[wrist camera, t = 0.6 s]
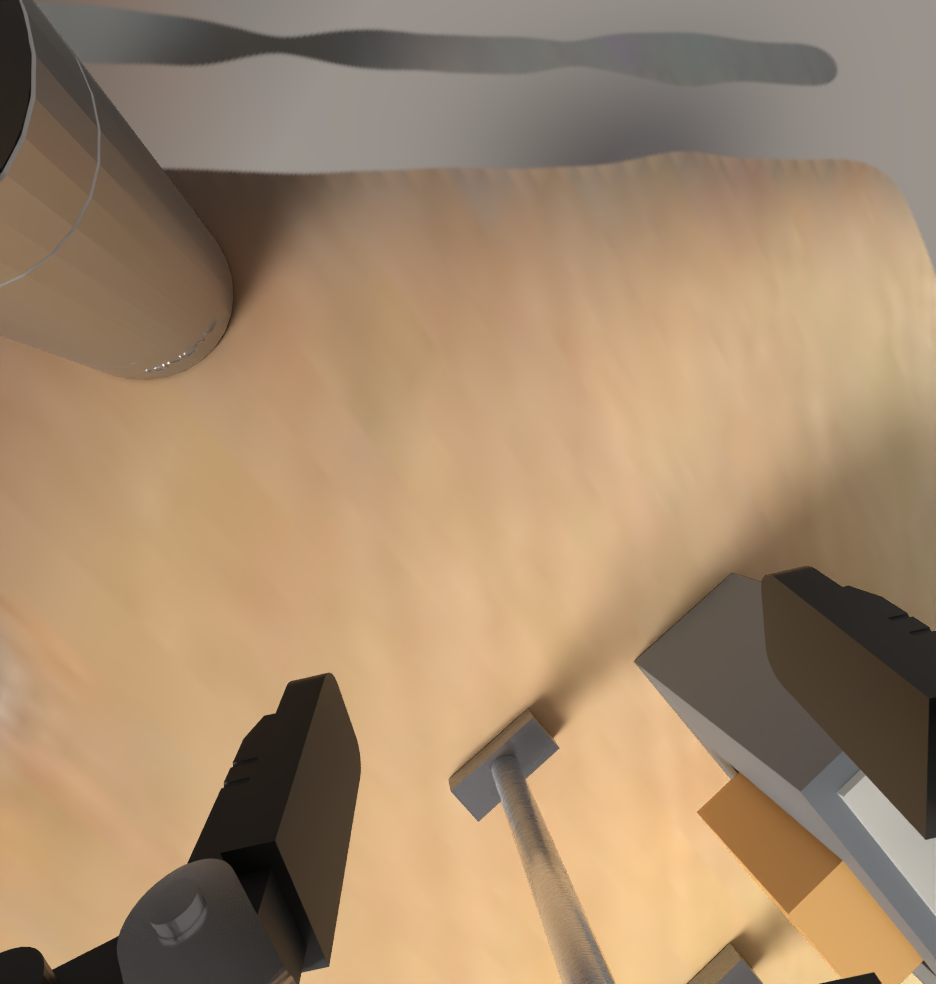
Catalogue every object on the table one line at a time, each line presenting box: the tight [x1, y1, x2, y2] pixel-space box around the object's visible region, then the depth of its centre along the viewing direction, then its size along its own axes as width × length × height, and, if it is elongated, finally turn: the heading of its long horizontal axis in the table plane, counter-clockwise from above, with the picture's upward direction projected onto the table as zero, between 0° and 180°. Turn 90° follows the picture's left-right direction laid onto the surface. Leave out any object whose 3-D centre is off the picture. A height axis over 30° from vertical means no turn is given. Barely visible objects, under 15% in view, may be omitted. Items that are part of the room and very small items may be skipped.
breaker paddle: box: [697, 772, 923, 984], centre depth 27 cm, size 6×5×7 cm
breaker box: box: [634, 573, 936, 984], centre depth 28 cm, size 18×8×16 cm, turn 40°
